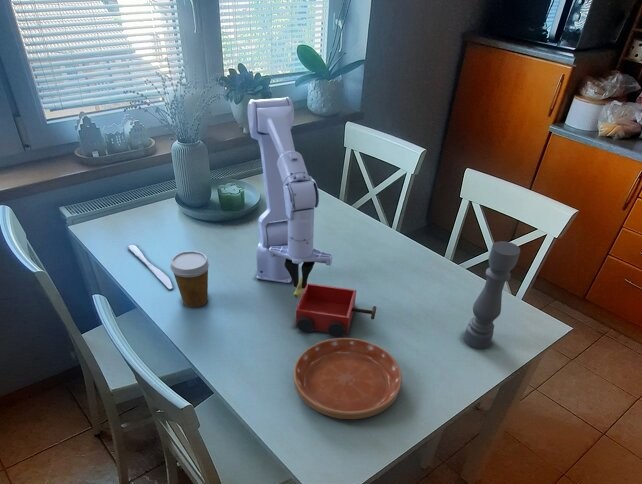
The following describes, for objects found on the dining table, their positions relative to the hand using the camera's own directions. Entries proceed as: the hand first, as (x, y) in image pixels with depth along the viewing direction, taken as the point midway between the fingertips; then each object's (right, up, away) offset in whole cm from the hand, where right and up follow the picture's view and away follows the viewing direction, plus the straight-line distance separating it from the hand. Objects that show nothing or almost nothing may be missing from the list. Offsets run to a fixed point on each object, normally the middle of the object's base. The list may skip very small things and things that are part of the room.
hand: (300, 285), depth 124 cm
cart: (+6, -7, +5) cm, 11 cm away
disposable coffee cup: (-27, -3, +9) cm, 29 cm away
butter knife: (-42, +8, +20) cm, 47 cm away
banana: (0, -2, +1) cm, 2 cm away
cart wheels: (+9, -8, +4) cm, 13 cm away
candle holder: (+42, -13, -1) cm, 44 cm away
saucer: (+10, -23, -12) cm, 28 cm away
